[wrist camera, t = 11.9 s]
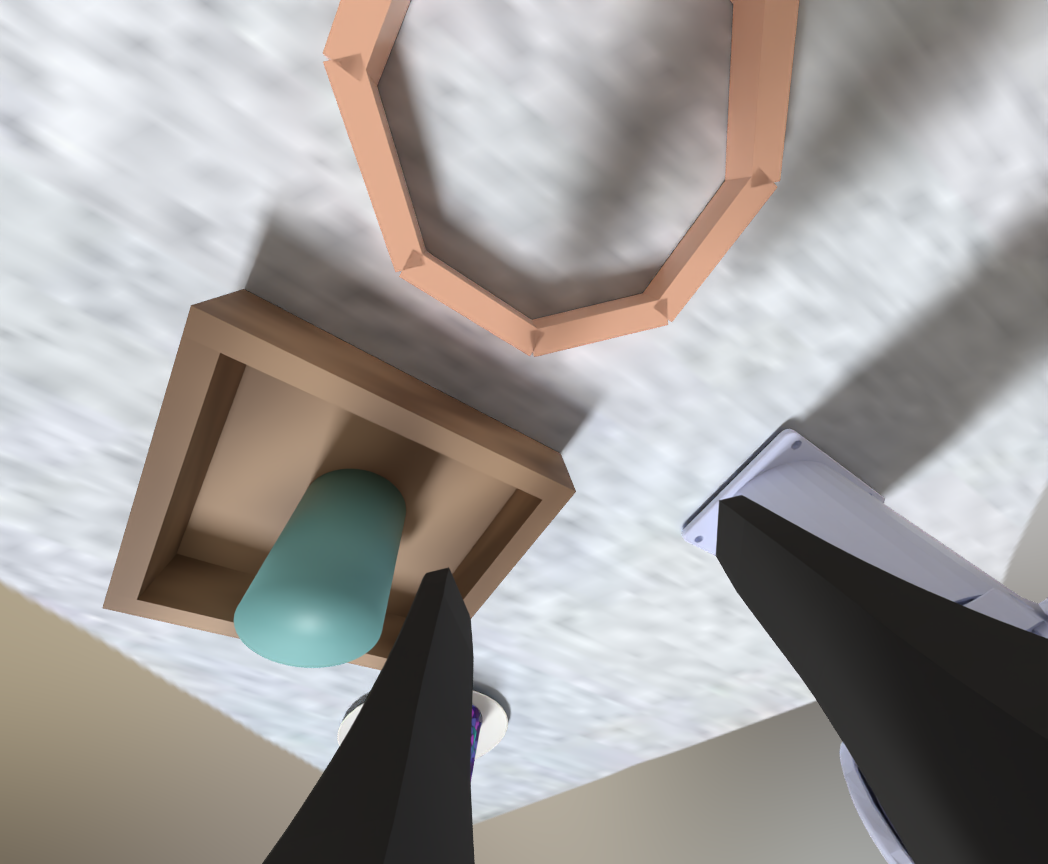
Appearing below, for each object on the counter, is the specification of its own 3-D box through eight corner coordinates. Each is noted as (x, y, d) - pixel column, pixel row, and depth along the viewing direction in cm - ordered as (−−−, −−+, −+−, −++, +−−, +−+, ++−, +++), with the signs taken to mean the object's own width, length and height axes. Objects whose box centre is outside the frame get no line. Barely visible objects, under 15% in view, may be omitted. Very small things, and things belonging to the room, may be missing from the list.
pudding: (396, 654, 25) (380, 753, 20) (539, 699, 29) (552, 788, 25) (310, 744, 28) (280, 845, 24) (449, 772, 33) (446, 861, 28)
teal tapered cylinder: (385, 458, 17) (349, 563, 12) (429, 555, 20) (417, 673, 15) (284, 482, 17) (202, 599, 12) (344, 576, 20) (300, 703, 15)
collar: (836, 75, 13) (877, 59, 12) (597, 389, 17) (607, 403, 16) (504, -391, 8) (511, -506, 7) (293, 201, 13) (272, 199, 11)
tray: (560, 453, 19) (576, 491, 16) (426, 627, 23) (421, 678, 21) (243, 288, 14) (190, 305, 11) (154, 552, 18) (102, 608, 16)
